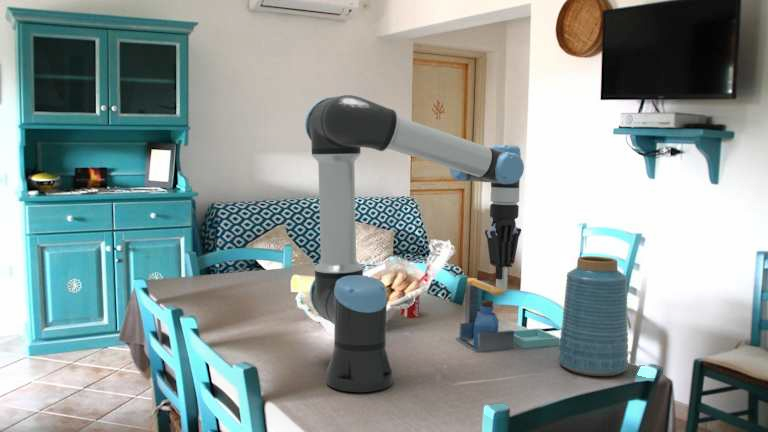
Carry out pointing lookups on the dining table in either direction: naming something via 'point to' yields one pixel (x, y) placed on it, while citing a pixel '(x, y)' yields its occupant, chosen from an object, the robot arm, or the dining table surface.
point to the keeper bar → (485, 286)
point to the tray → (534, 338)
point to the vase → (595, 319)
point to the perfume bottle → (485, 320)
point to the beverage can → (411, 310)
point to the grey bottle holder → (485, 339)
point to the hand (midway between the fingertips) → (501, 290)
